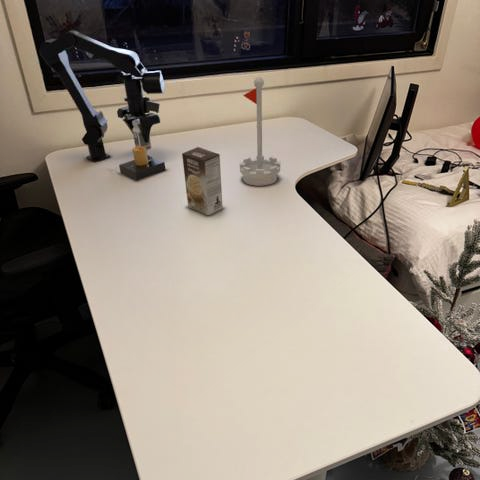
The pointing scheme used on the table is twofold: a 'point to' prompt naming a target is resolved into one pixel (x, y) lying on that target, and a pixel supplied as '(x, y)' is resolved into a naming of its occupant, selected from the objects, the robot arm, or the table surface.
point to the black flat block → (142, 168)
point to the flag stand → (259, 148)
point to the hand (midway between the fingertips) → (142, 140)
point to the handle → (140, 155)
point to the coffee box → (203, 180)
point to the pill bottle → (139, 136)
